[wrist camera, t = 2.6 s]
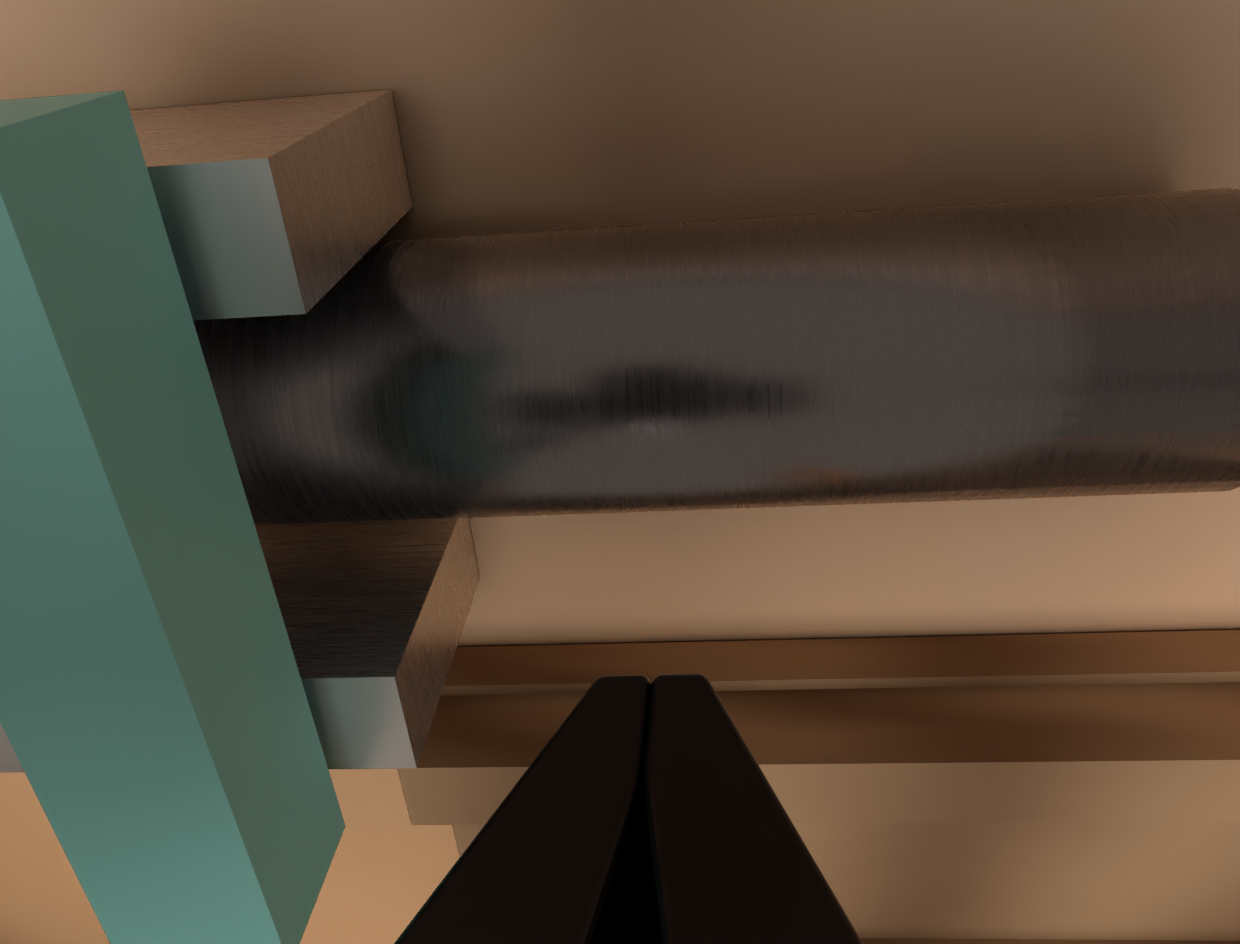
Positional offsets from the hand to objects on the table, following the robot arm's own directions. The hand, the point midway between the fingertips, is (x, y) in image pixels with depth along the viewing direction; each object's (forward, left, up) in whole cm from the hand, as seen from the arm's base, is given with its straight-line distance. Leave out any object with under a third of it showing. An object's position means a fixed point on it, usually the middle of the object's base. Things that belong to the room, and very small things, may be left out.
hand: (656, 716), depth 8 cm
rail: (+4, -9, -7) cm, 12 cm away
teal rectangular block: (-5, 0, -3) cm, 6 cm away
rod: (0, 0, -8) cm, 8 cm away
